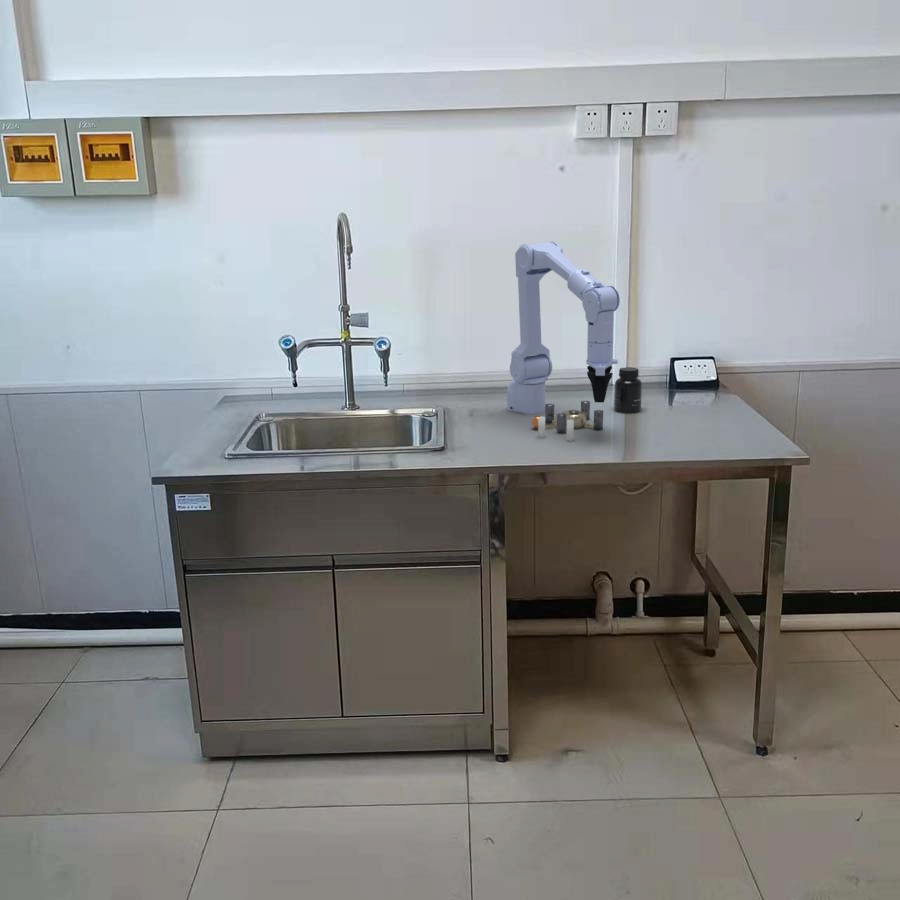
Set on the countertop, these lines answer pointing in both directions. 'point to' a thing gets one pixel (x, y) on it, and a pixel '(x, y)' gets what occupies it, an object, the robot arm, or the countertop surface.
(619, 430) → the countertop surface
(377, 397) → the countertop surface
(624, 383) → the supplement bottle
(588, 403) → the capstan
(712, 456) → the countertop surface
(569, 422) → the white rounded posts
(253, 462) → the countertop surface
